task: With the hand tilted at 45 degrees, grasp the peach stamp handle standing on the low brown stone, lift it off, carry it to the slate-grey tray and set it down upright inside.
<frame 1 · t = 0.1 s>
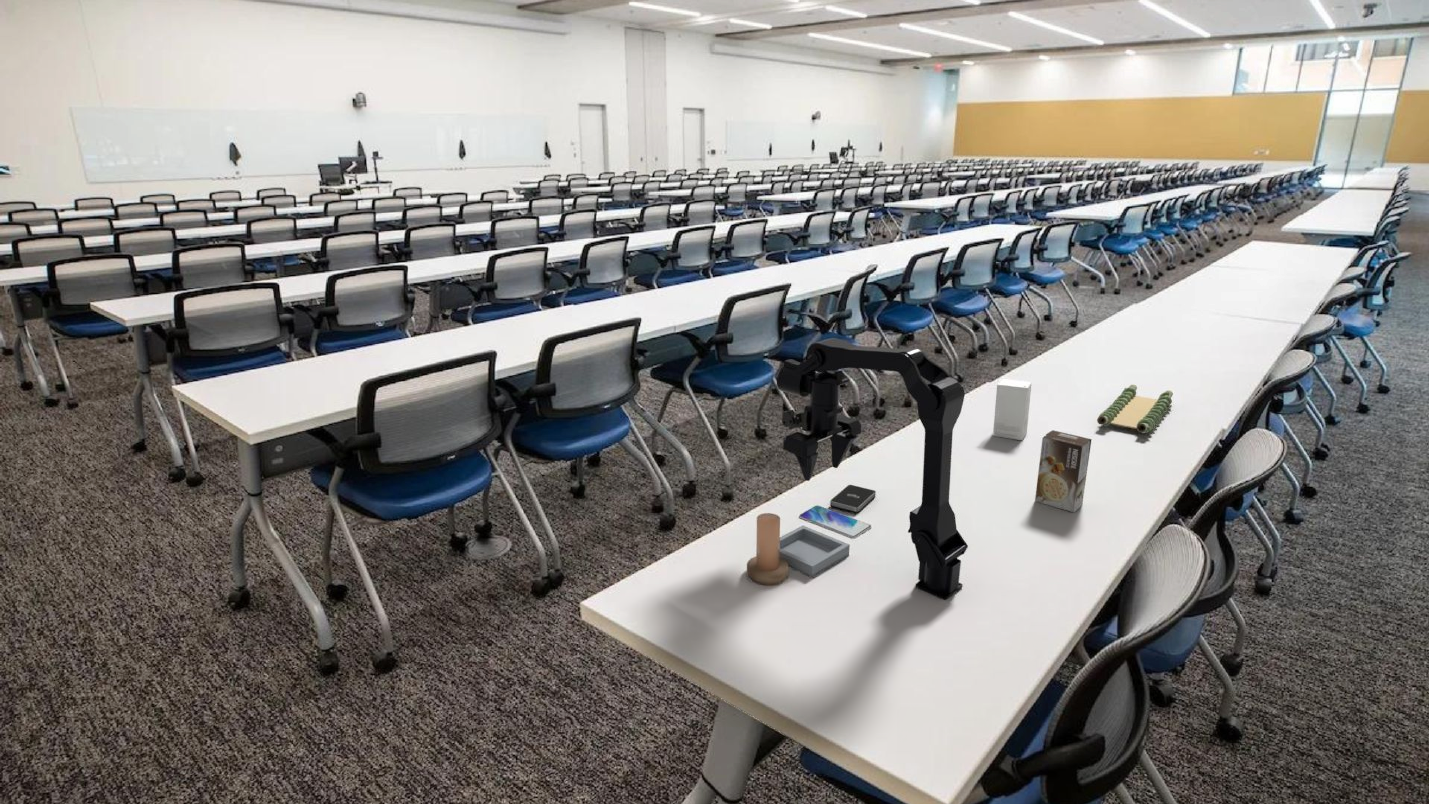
hand: (821, 473, 163), 15 cm above the table, tool pointing down, fingers open, 9 cm apart
smartphone: (834, 524, 174), on the table
peach stamp handle: (767, 565, 152), point 2 cm above the table, touching brown stone
skincare box: (1008, 436, 224), on the table
tray: (807, 555, 160), on the table
stretcher: (1134, 418, 239), on the table
external hard drive: (852, 504, 183), on the table
brown stone: (767, 574, 153), on the table
coffee box: (1058, 503, 183), on the table
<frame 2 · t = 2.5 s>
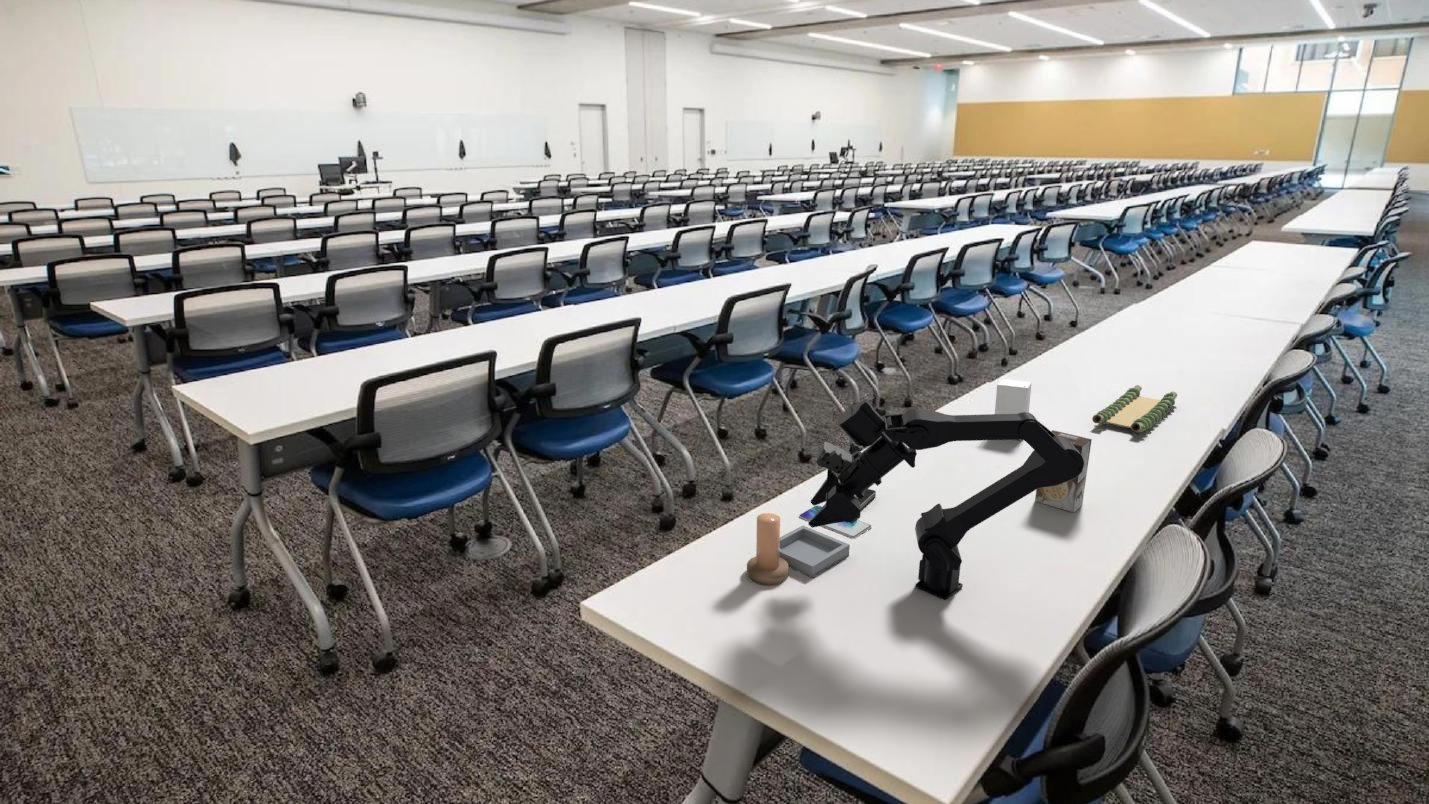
hand: (810, 514, 148), 13 cm above the table, tool tilted 45°, fingers open, 9 cm apart
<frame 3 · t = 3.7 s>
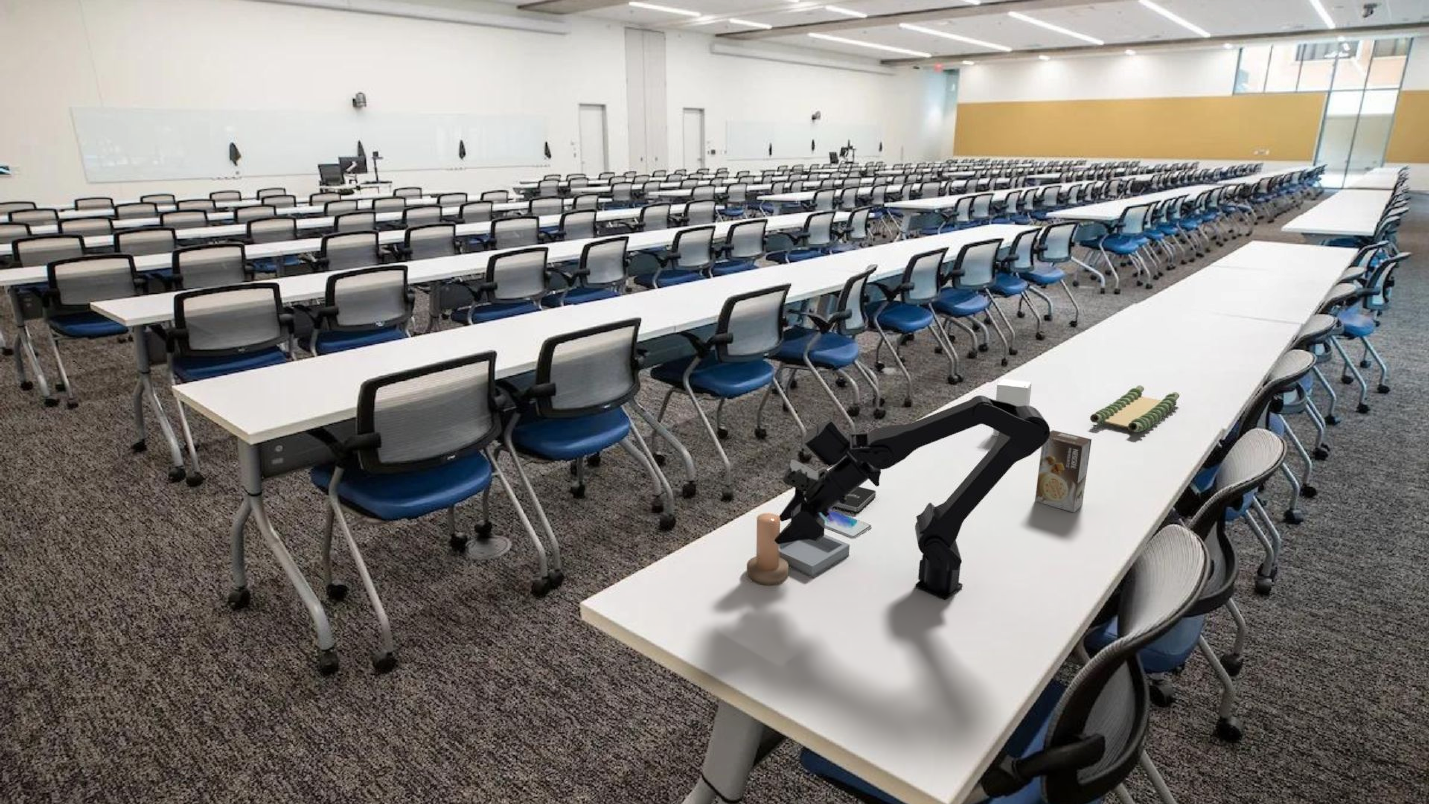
hand: (778, 530, 150), 10 cm above the table, tool tilted 45°, fingers open, 9 cm apart
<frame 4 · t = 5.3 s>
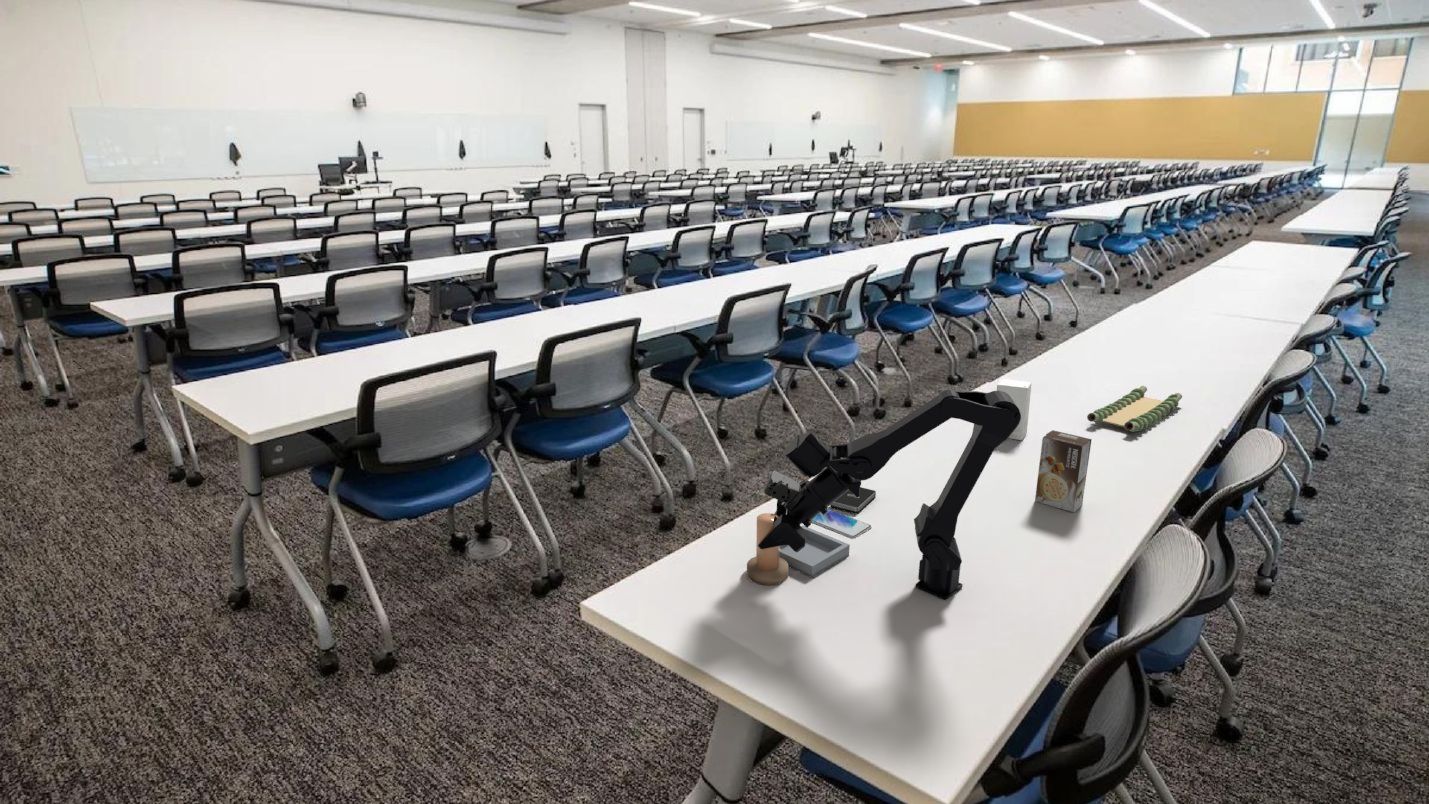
hand: (760, 541, 151), 7 cm above the table, tool tilted 45°, fingers closed on peach stamp handle, 4 cm apart
peach stamp handle: (767, 565, 152), point 2 cm above the table, touching gripper, brown stone
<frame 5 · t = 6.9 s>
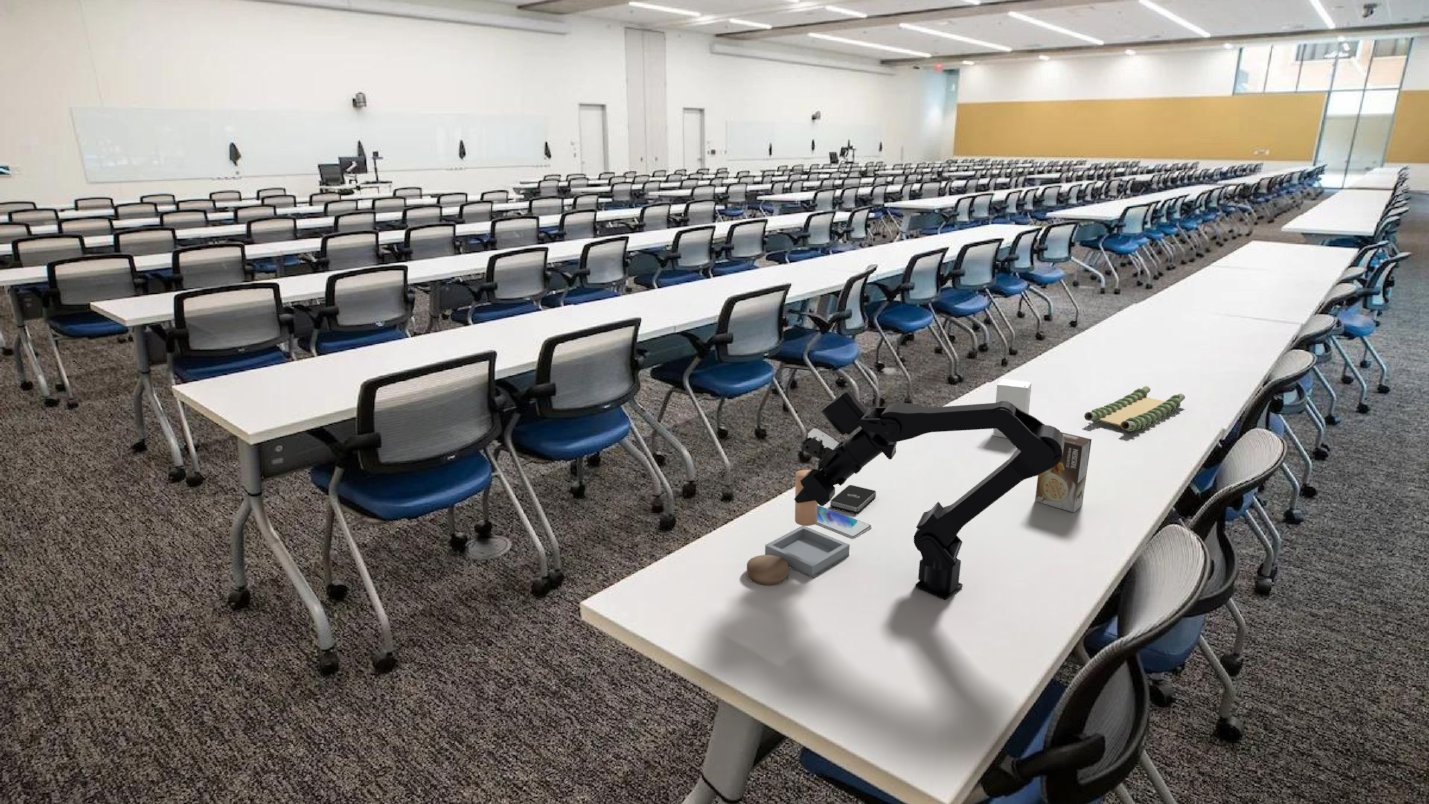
hand: (800, 496, 156), 13 cm above the table, tool tilted 45°, fingers closed on peach stamp handle, 4 cm apart
peach stamp handle: (806, 520, 157), point 8 cm above the table, touching gripper
when the fingers open (7 cm above the table, at t = 8.6 s): peach stamp handle stays where it is, resting on tray.
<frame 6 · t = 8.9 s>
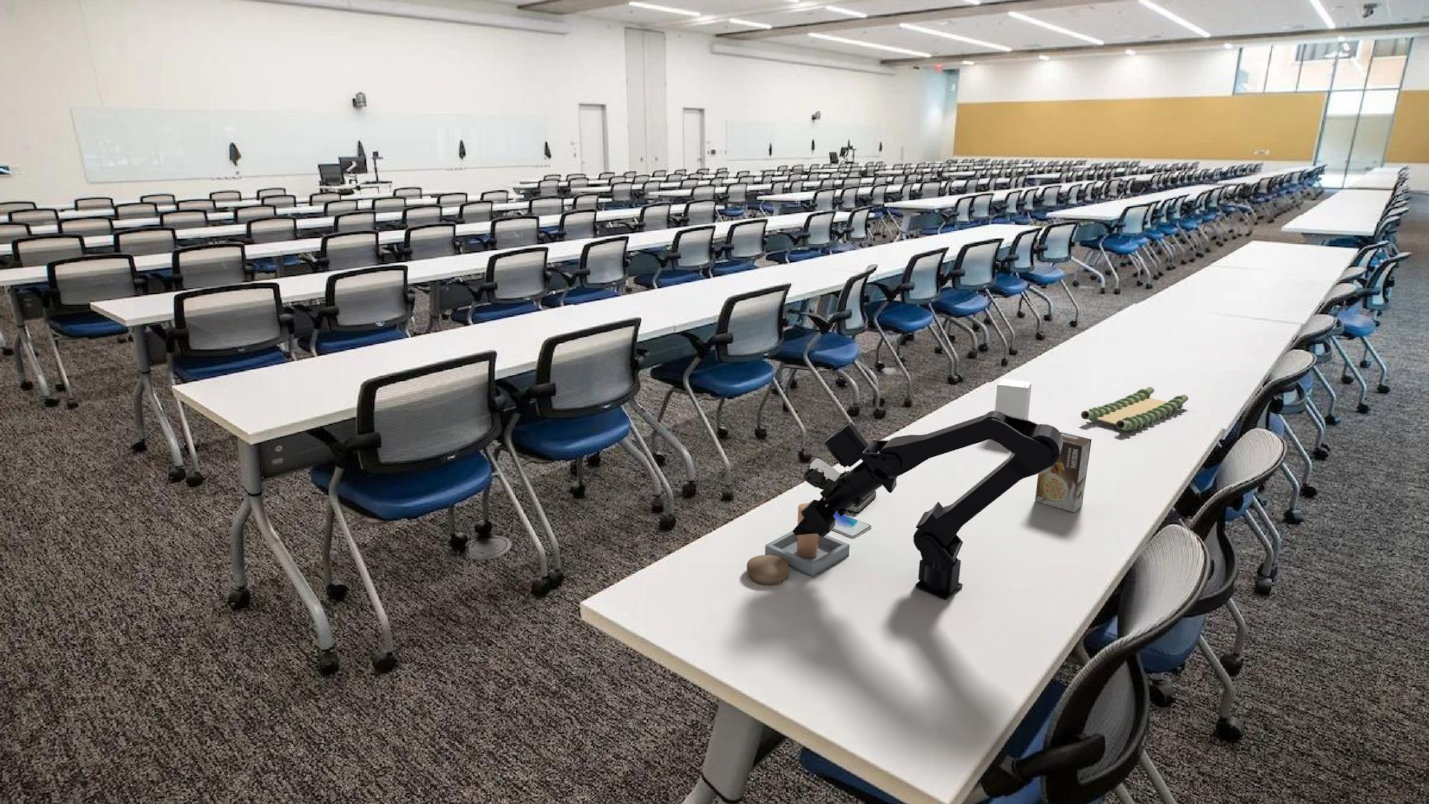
hand: (801, 524, 158), 7 cm above the table, tool tilted 45°, fingers open, 8 cm apart
peach stamp handle: (807, 553, 159), point 1 cm above the table, touching tray
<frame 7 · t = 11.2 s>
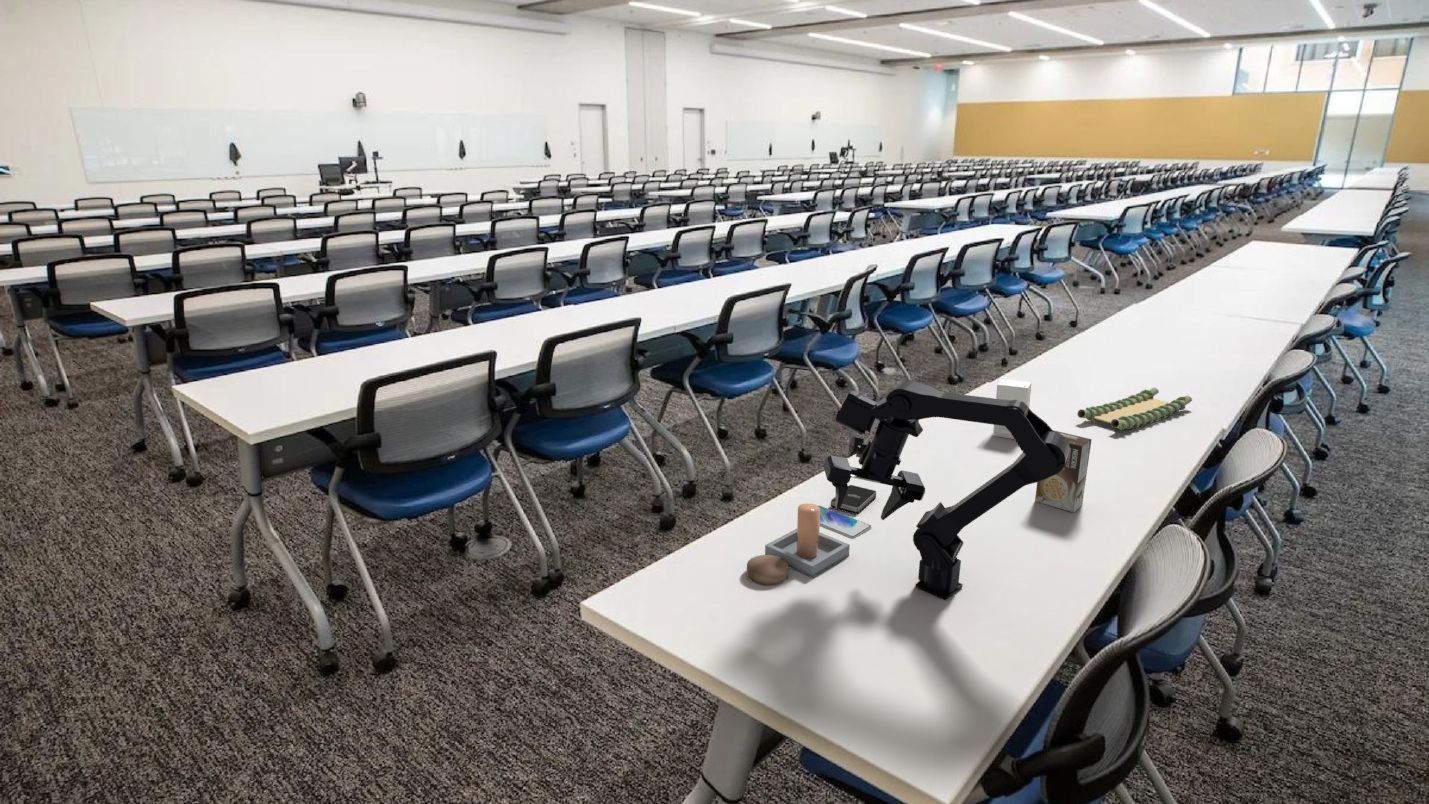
hand: (859, 514, 152), 11 cm above the table, tool tilted 15°, fingers open, 9 cm apart
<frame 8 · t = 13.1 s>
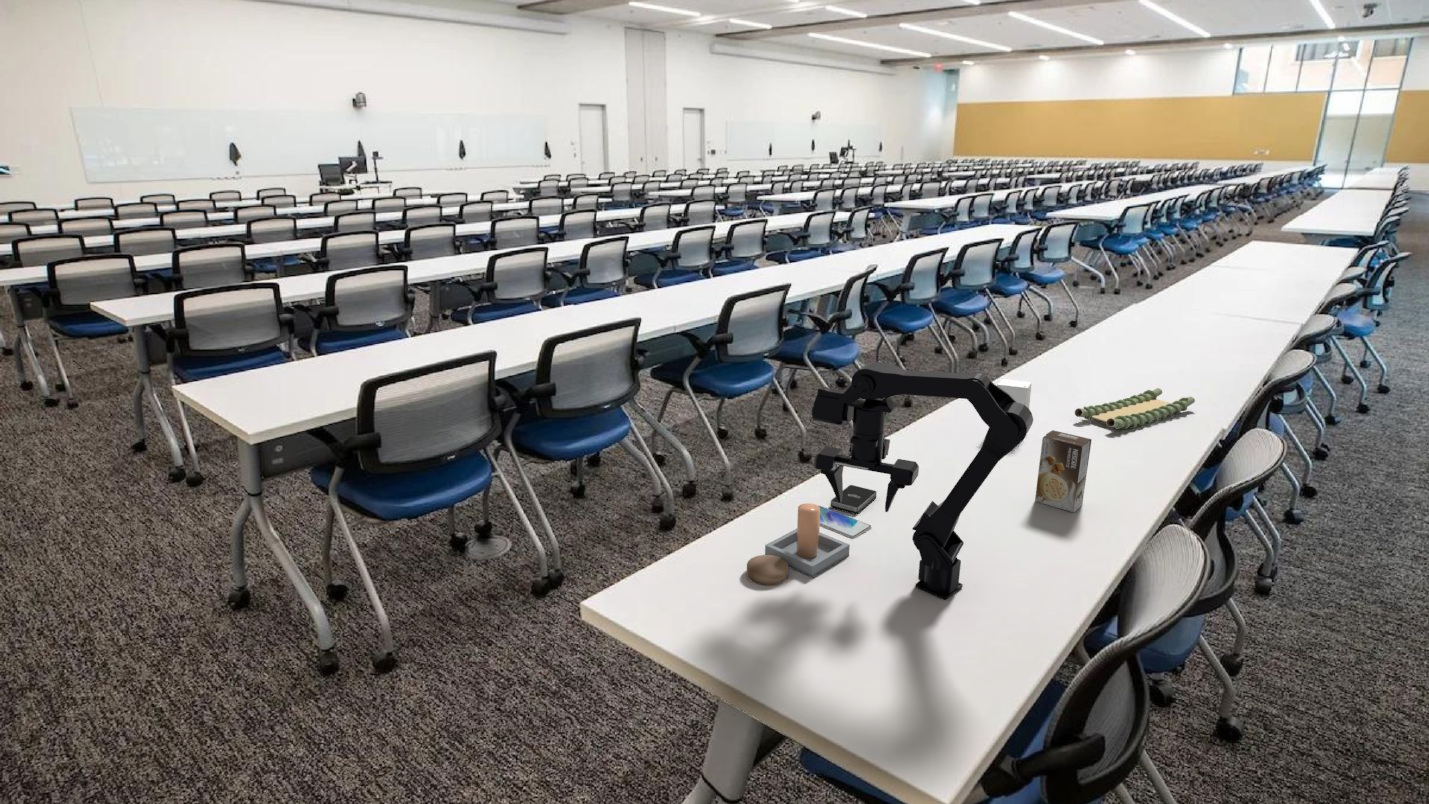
hand: (863, 506, 152), 13 cm above the table, tool pointing down, fingers open, 9 cm apart
at the end: peach stamp handle inside the target area on the tray (0.0 cm from its centre), point 0.6 cm above the tray's base; peach stamp handle tilted 0°; the gripper is holding nothing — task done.
